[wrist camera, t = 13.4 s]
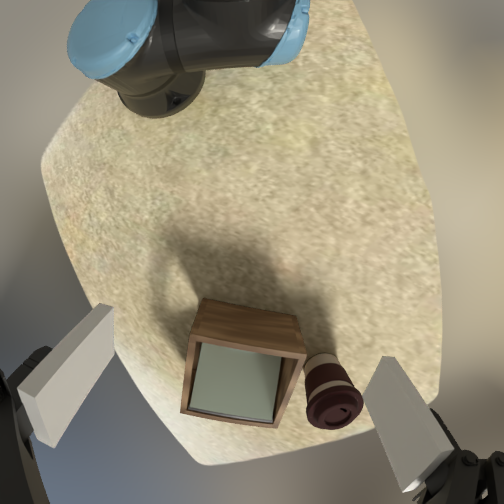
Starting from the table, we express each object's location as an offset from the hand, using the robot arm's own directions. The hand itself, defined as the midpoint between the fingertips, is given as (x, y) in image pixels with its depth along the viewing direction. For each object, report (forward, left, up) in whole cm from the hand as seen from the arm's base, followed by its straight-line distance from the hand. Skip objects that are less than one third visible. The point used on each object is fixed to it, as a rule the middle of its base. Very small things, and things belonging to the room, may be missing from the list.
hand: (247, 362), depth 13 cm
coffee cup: (+25, +20, -37) cm, 49 cm away
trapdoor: (+26, +3, -29) cm, 39 cm away
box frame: (+23, +3, -37) cm, 43 cm away
